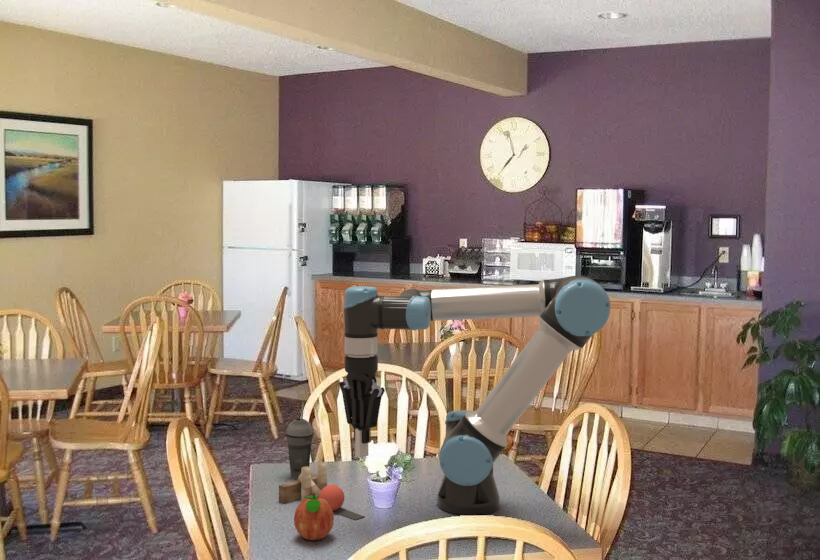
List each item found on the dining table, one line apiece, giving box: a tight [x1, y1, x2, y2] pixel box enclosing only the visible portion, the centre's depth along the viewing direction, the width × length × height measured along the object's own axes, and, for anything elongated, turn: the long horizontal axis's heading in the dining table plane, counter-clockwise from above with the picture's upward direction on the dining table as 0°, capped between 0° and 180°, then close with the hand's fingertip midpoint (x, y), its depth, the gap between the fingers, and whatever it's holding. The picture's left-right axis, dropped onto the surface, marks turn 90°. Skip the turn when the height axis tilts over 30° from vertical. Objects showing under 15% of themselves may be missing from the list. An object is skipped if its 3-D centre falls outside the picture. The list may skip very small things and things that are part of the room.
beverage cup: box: [285, 402, 314, 480], centre depth 238 cm, size 7×7×20 cm
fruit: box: [293, 493, 335, 541], centre depth 196 cm, size 9×10×10 cm
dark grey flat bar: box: [333, 507, 365, 521], centre depth 212 cm, size 10×3×1 cm, turn 46°
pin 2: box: [316, 461, 328, 490], centre depth 221 cm, size 2×2×9 cm
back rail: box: [278, 474, 317, 504], centre depth 223 cm, size 12×2×4 cm, turn 136°
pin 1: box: [300, 466, 312, 503], centre depth 217 cm, size 2×2×9 cm
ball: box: [319, 484, 345, 511], centre depth 214 cm, size 6×6×6 cm
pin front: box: [297, 474, 321, 498], centre depth 220 cm, size 2×2×9 cm
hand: (361, 456), depth 207 cm, fingers closed
